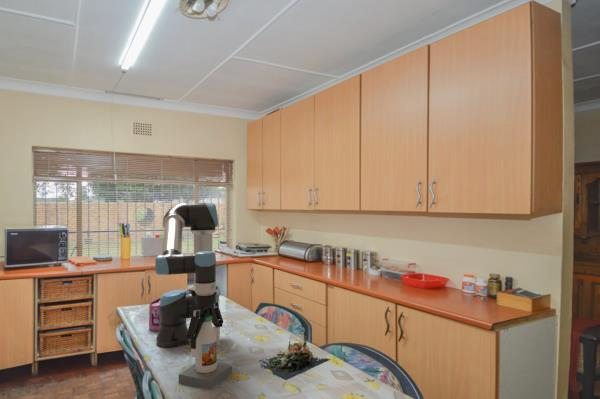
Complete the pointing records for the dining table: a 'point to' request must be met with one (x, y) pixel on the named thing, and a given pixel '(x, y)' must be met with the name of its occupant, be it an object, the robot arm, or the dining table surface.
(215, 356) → the milk bottle
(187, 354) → the dining table surface
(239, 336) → the dining table surface
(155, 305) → the gum box
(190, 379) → the grey square slab
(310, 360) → the plated dish
